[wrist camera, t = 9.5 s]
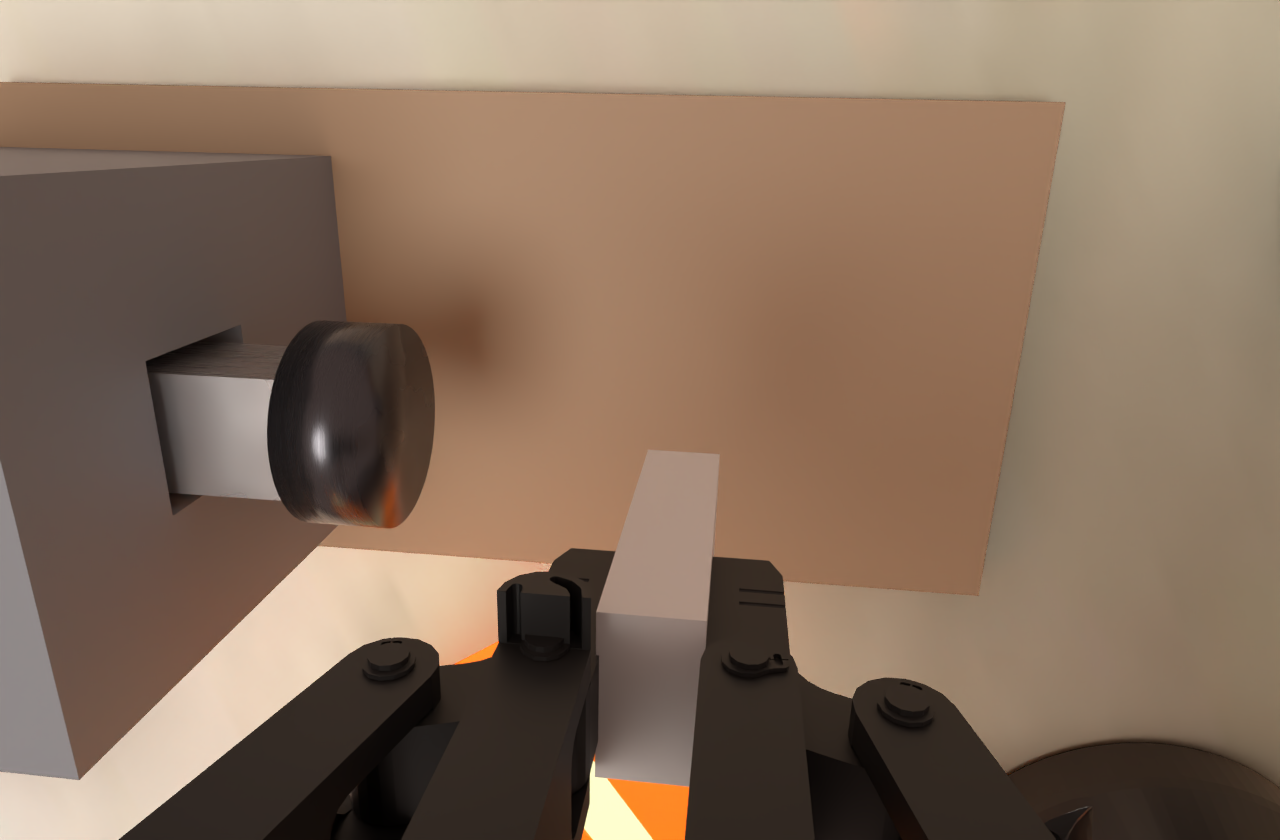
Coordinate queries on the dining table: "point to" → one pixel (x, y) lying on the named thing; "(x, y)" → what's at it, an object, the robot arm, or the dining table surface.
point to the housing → (496, 340)
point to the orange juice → (627, 802)
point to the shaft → (301, 421)
